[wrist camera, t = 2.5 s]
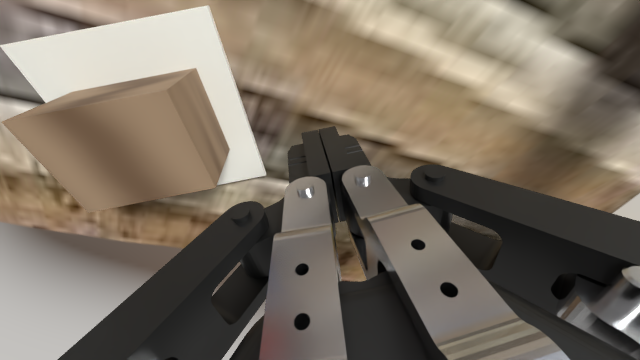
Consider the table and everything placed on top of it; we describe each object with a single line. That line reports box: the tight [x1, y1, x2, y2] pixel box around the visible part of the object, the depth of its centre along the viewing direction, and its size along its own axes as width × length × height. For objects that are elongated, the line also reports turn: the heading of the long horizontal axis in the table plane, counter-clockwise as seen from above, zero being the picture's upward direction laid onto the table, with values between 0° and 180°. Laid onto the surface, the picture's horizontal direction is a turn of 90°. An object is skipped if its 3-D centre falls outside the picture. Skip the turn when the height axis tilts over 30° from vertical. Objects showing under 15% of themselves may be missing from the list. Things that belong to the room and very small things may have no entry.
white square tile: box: [0, 5, 266, 185], centre depth 18 cm, size 12×12×1 cm
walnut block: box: [2, 68, 230, 213], centre depth 16 cm, size 8×6×5 cm
